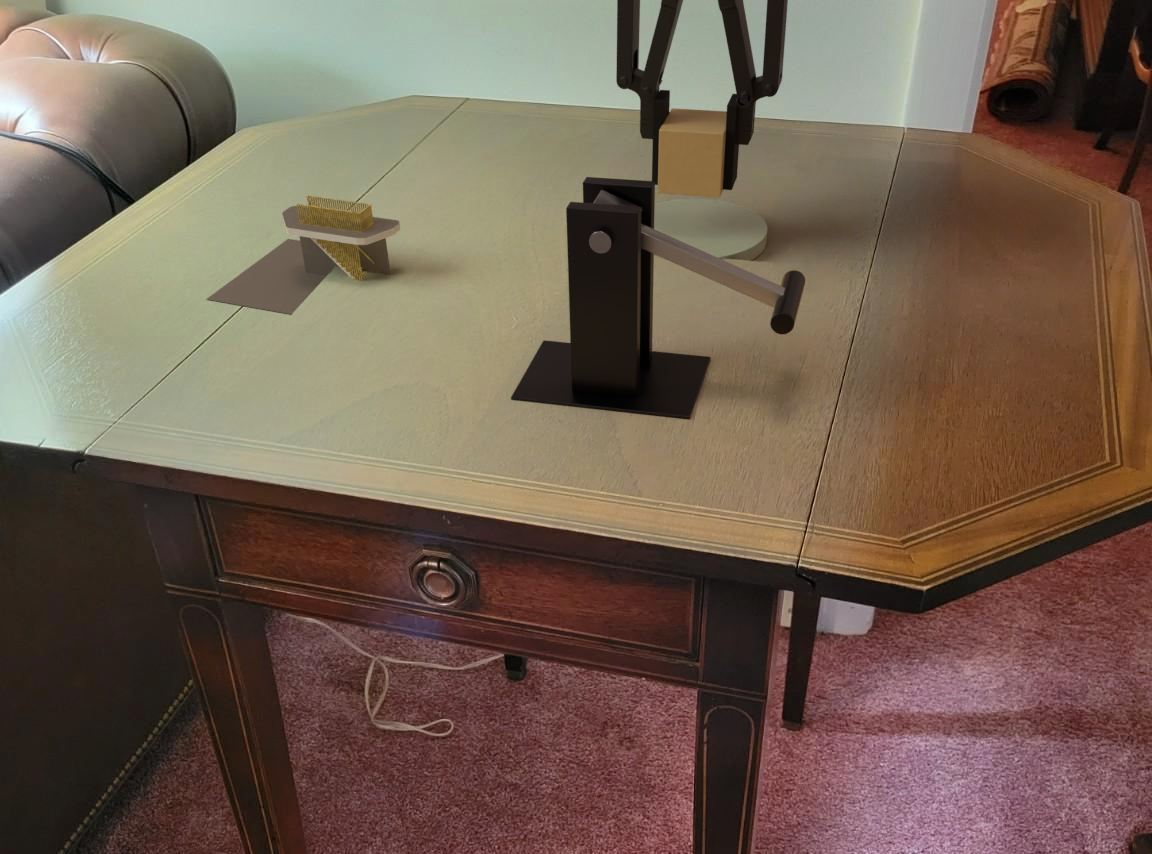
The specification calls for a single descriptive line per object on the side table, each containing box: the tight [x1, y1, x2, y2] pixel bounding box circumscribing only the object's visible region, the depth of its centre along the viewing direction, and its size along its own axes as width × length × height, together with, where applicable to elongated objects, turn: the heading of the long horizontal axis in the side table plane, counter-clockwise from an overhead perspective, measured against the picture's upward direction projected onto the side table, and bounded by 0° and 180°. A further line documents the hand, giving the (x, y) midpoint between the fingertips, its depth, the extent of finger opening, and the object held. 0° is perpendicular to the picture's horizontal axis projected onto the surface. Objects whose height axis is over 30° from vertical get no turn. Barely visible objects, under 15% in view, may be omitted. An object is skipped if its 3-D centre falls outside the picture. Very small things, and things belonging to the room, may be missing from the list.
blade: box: [594, 190, 806, 335], centre depth 75 cm, size 14×6×2 cm, turn 74°
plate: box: [654, 198, 769, 262], centre depth 101 cm, size 12×12×1 cm
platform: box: [206, 194, 401, 315], centre depth 95 cm, size 12×18×7 cm, turn 67°
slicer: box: [510, 176, 712, 420], centre depth 78 cm, size 12×8×14 cm, turn 75°
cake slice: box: [657, 107, 727, 199], centre depth 96 cm, size 5×5×5 cm
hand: (694, 180), depth 98 cm, fingers closed on cake slice, 5 cm apart
